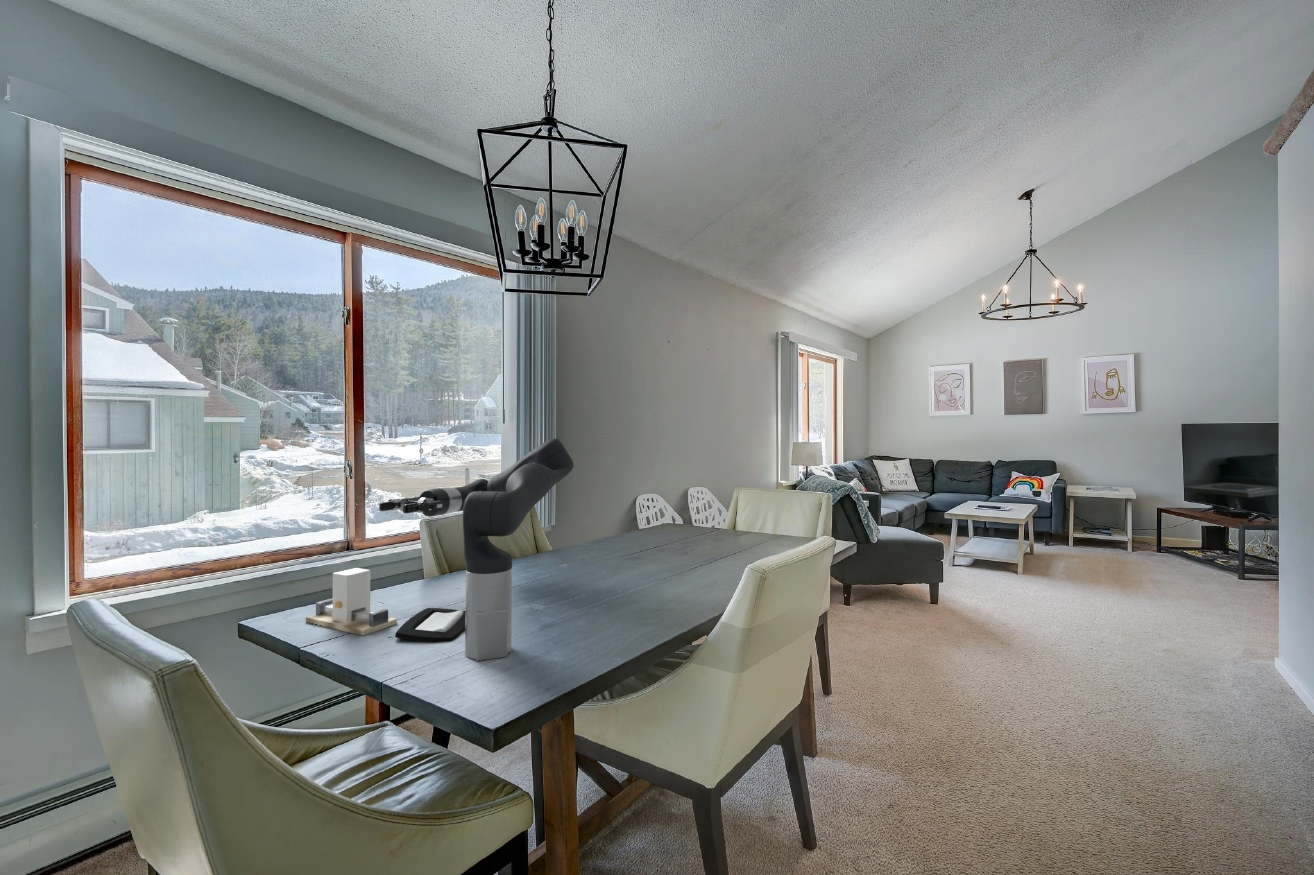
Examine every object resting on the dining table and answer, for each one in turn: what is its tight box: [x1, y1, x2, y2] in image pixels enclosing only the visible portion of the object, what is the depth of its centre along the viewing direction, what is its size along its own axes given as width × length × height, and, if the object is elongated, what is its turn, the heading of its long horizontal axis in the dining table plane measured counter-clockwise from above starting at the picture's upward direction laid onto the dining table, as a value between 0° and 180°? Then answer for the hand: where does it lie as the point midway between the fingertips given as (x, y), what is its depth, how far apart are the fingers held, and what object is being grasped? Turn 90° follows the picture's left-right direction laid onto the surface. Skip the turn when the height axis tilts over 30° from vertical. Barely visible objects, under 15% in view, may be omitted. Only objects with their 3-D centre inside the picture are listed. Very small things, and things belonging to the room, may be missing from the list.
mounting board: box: [305, 613, 398, 637], centre depth 136 cm, size 20×9×1 cm, turn 65°
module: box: [332, 567, 371, 623], centre depth 136 cm, size 5×7×11 cm
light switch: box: [394, 607, 466, 643], centre depth 134 cm, size 20×3×14 cm
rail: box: [315, 597, 389, 627], centre depth 136 cm, size 20×4×3 cm, turn 65°
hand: (391, 508), depth 146 cm, fingers open, 8 cm apart
